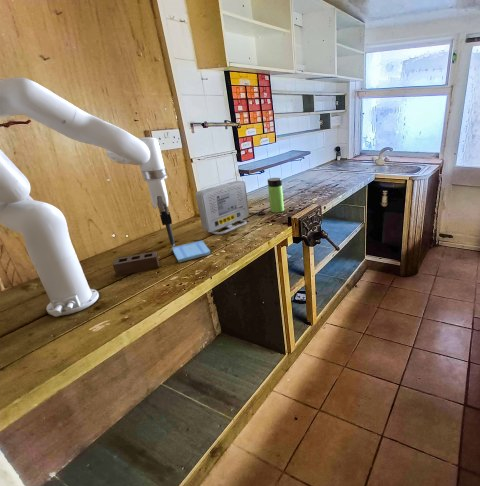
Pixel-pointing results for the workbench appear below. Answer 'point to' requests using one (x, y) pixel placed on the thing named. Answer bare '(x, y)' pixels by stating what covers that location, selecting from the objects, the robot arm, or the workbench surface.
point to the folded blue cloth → (191, 251)
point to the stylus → (170, 235)
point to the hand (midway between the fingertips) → (167, 223)
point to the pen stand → (136, 263)
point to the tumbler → (275, 195)
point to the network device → (223, 206)
